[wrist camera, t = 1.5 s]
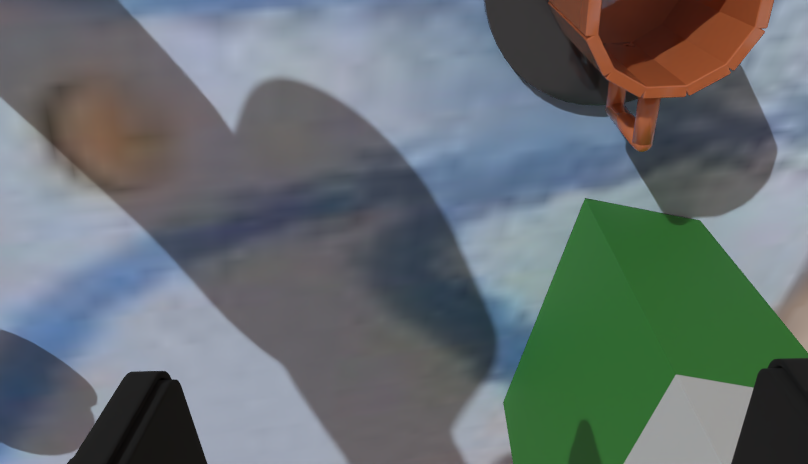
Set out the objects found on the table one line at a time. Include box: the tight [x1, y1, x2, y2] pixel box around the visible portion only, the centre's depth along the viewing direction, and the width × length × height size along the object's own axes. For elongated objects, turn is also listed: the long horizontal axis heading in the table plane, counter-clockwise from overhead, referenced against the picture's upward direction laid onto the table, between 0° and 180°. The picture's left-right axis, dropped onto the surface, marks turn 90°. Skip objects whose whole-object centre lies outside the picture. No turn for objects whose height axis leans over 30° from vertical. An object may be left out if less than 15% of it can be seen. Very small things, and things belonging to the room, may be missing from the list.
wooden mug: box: [548, 0, 774, 152], centre depth 27 cm, size 10×7×8 cm
